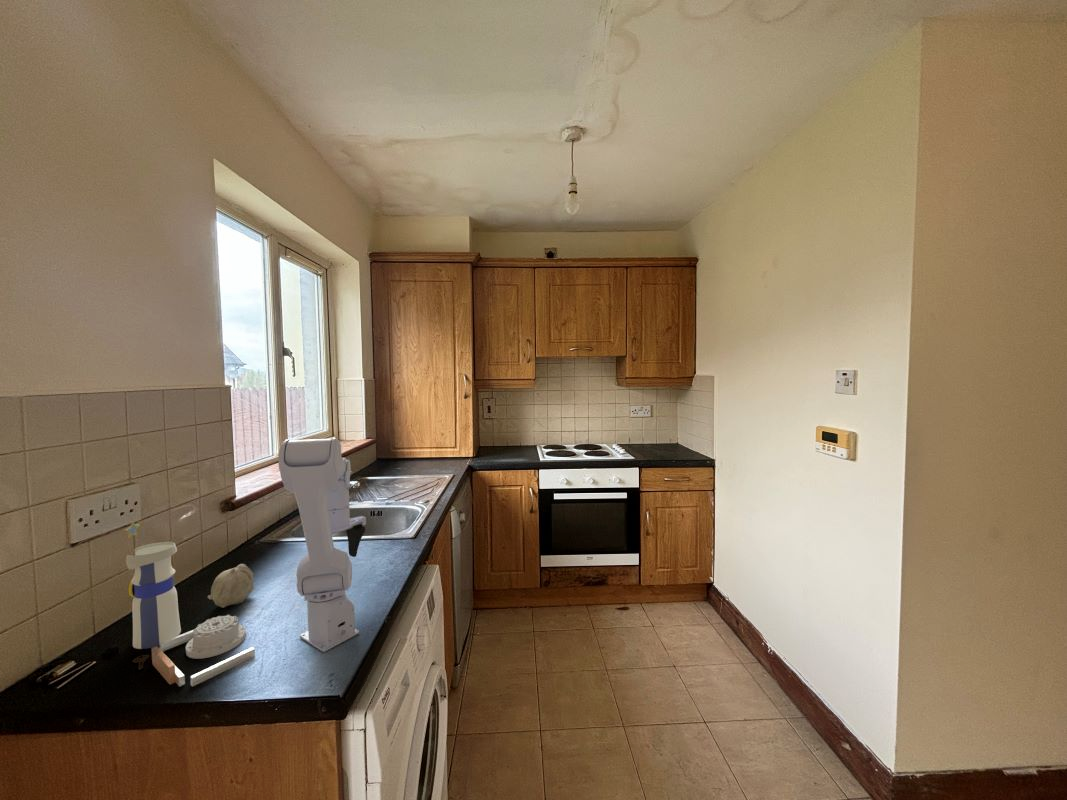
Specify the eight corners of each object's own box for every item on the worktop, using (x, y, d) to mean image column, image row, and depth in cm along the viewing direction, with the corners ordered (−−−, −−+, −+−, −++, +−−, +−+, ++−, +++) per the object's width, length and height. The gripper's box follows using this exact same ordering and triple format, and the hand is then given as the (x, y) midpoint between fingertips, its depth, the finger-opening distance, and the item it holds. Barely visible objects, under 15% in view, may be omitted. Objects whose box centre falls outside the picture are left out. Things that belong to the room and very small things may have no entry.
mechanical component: (250, 644, 88) (240, 624, 96) (249, 623, 88) (239, 605, 95) (189, 667, 81) (183, 644, 89) (188, 644, 81) (182, 624, 88)
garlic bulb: (247, 603, 109) (258, 561, 112) (252, 610, 103) (264, 566, 106) (202, 603, 104) (215, 560, 106) (204, 611, 97) (218, 565, 100)
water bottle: (120, 655, 85) (113, 531, 84) (140, 632, 93) (133, 518, 92) (172, 644, 88) (166, 525, 87) (187, 623, 96) (181, 513, 95)
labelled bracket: (254, 656, 84) (254, 640, 84) (177, 694, 74) (176, 676, 74) (218, 627, 94) (217, 612, 94) (146, 656, 84) (145, 640, 84)
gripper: (354, 497, 113) (355, 547, 114) (298, 511, 101) (300, 568, 102) (370, 501, 109) (372, 553, 110) (313, 517, 97) (316, 575, 98)
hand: (338, 561), depth 106 cm, fingers open, 7 cm apart
